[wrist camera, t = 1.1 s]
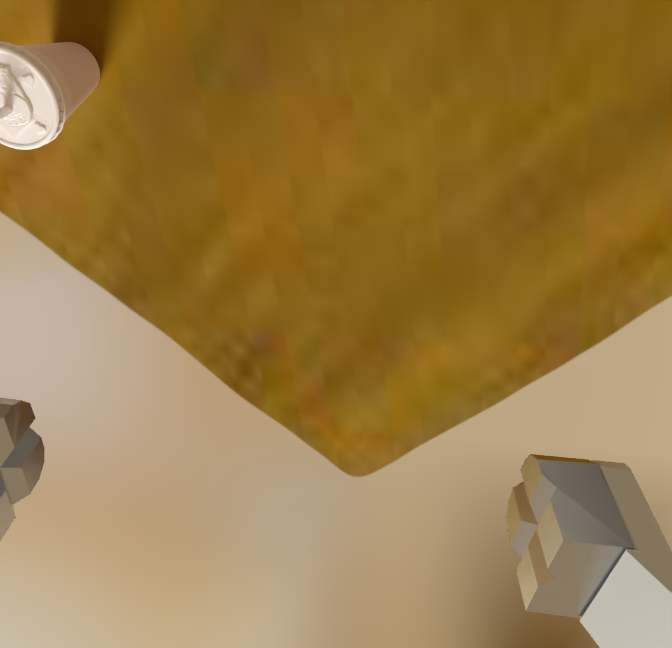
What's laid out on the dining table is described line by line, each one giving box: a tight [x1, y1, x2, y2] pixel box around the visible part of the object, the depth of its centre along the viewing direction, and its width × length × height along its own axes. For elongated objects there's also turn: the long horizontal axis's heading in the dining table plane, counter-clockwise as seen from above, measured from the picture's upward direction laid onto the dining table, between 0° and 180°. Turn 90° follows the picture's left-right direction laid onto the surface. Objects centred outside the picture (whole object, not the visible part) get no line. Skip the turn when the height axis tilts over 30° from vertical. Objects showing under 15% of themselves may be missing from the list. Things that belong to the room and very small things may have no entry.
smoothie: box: [0, 42, 100, 150], centre depth 37 cm, size 6×6×14 cm
